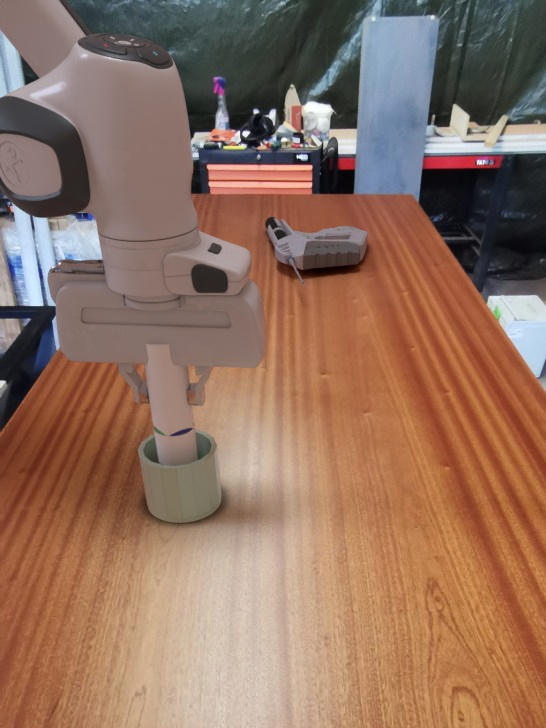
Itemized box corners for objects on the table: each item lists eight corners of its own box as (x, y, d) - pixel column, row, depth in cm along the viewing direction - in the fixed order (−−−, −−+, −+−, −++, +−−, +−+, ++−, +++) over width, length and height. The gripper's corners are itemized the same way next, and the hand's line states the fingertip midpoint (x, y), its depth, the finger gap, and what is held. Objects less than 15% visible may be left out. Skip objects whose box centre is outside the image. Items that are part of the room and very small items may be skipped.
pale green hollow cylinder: (138, 520, 81) (128, 466, 77) (158, 479, 88) (149, 426, 83) (213, 525, 80) (207, 470, 76) (227, 483, 87) (223, 429, 82)
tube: (167, 457, 83) (148, 326, 73) (203, 461, 82) (189, 328, 72) (154, 478, 80) (133, 344, 70) (192, 482, 79) (176, 346, 69)
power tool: (351, 234, 162) (261, 237, 160) (353, 208, 159) (261, 210, 157) (405, 296, 128) (291, 301, 126) (408, 264, 124) (291, 269, 122)
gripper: (29, 270, 65) (63, 412, 75) (257, 275, 63) (263, 421, 72) (55, 248, 70) (84, 384, 79) (267, 251, 68) (272, 391, 77)
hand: (171, 402), depth 76 cm, fingers closed on tube, 4 cm apart
